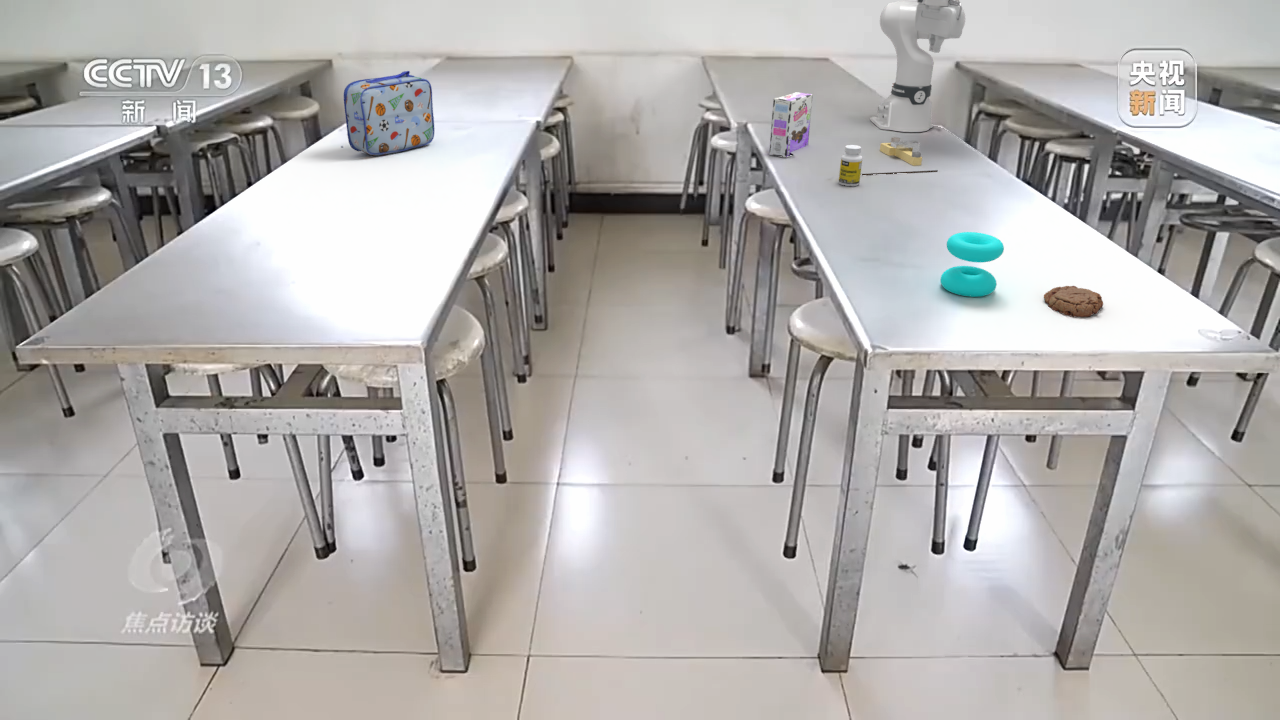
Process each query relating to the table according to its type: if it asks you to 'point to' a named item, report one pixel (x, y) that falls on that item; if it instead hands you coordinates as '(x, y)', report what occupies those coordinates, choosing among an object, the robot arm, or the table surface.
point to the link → (902, 154)
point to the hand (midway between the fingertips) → (934, 51)
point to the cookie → (1074, 301)
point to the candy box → (790, 123)
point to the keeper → (907, 145)
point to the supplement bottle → (850, 166)
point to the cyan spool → (969, 277)
